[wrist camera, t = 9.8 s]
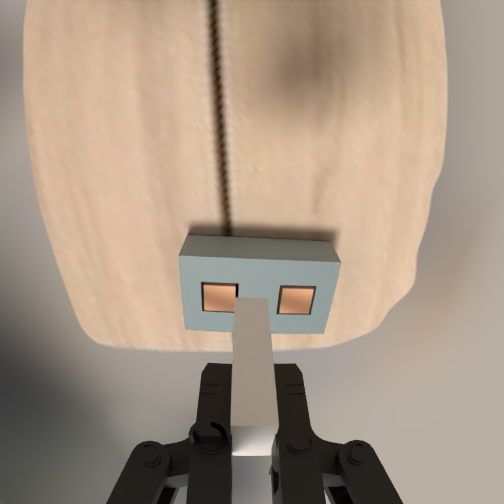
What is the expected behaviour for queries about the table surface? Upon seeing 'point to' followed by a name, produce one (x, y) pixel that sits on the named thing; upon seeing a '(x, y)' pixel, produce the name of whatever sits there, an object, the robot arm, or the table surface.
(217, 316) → the socket block
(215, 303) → the peg
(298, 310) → the peg
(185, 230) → the table surface
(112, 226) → the table surface
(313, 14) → the table surface
